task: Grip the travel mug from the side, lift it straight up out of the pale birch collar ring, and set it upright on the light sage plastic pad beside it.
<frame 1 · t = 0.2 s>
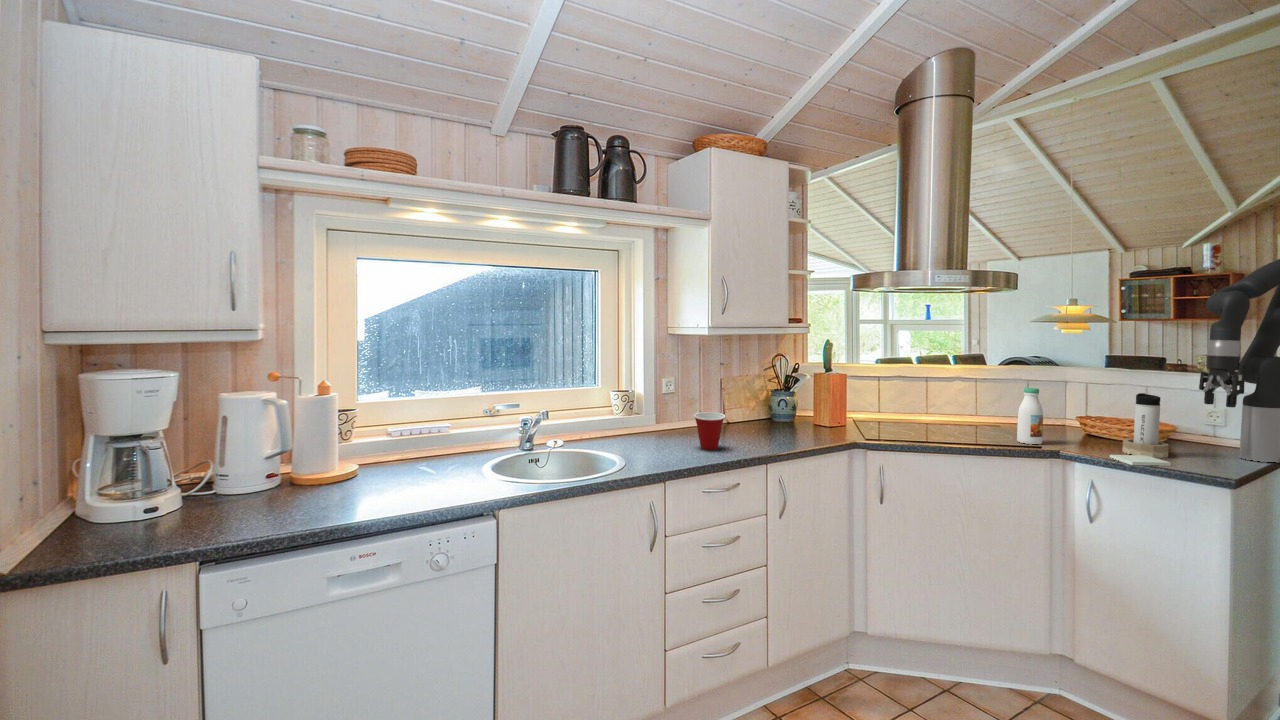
hand: (1219, 405, 191), 17 cm above the countertop, tool pointing down, fingers open, 8 cm apart
milk bottle: (1029, 443, 218), on the countertop
plastic cup: (709, 449, 208), on the countertop
sage pad: (1139, 461, 189), on the countertop
travel mug: (1144, 454, 200), resting in collar ring
collar ring: (1144, 454, 200), on the countertop
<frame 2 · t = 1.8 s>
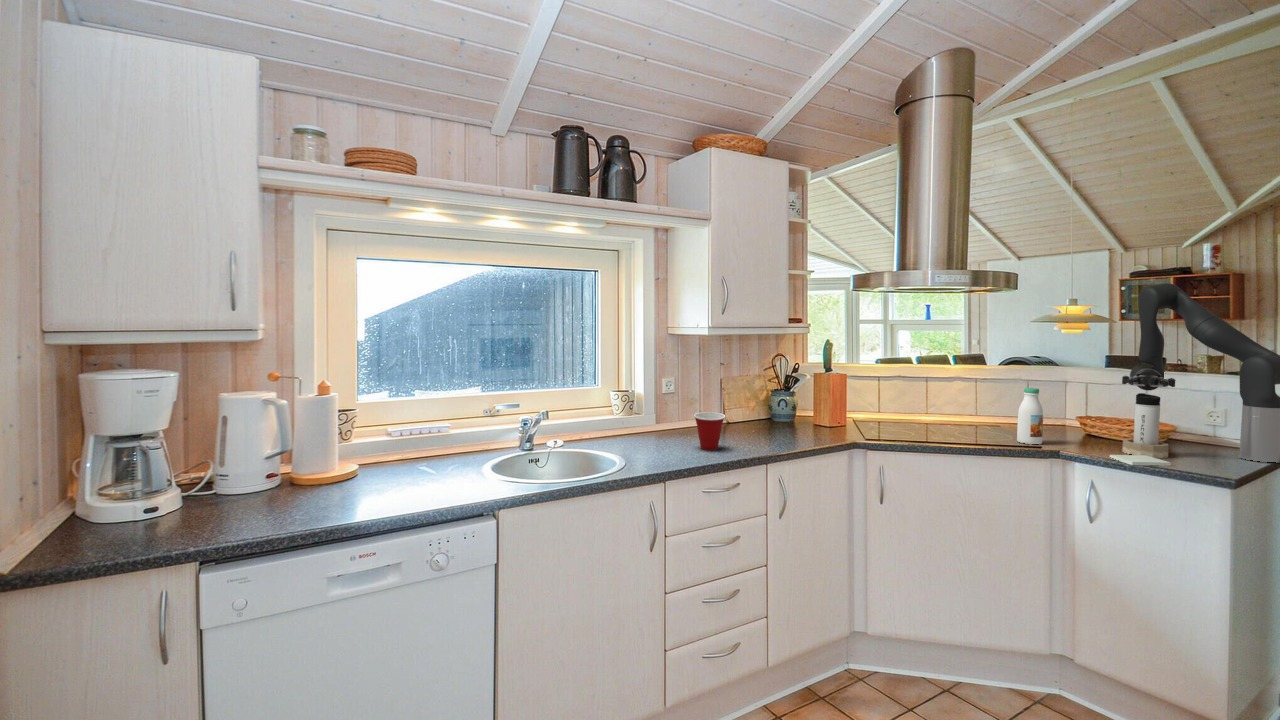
hand: (1148, 382, 207), 23 cm above the countertop, tool horizontal, fingers open, 8 cm apart
nothing on the countertop moved.
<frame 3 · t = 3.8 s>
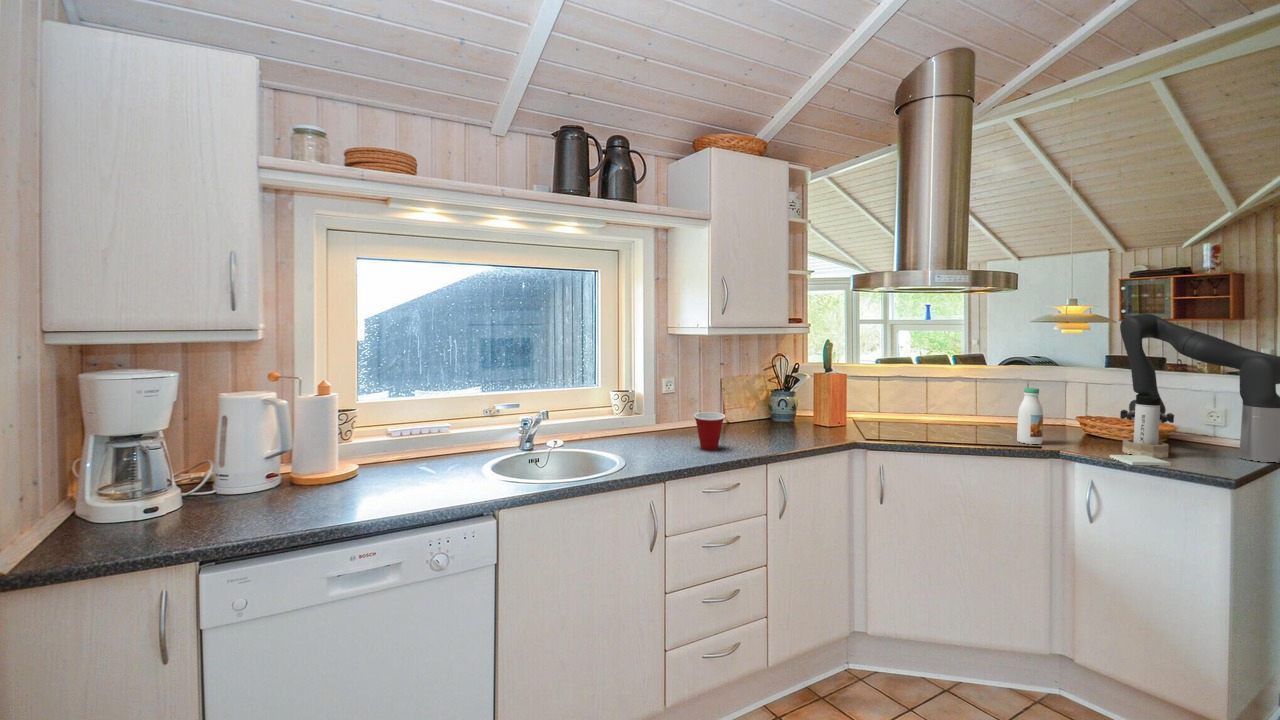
hand: (1146, 418, 205), 11 cm above the countertop, tool horizontal, fingers open, 8 cm apart
nothing on the countertop moved.
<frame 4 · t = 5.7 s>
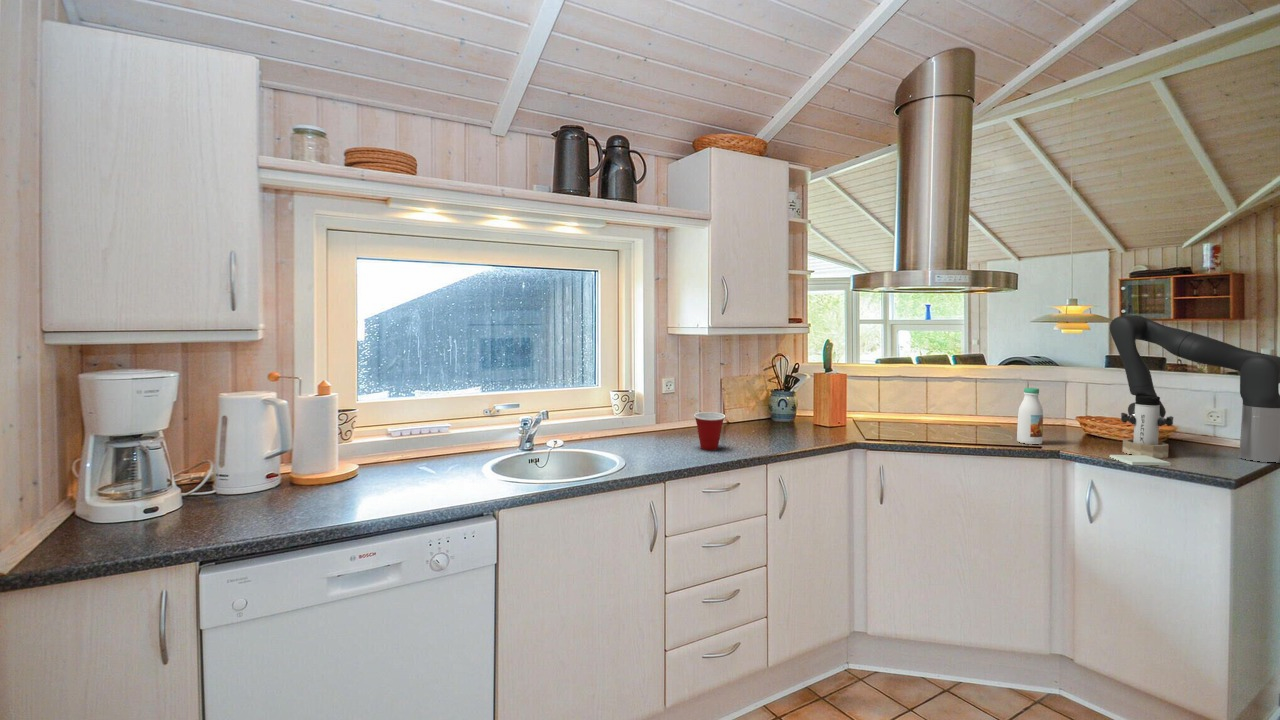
hand: (1146, 422, 198), 11 cm above the countertop, tool horizontal, fingers closed on travel mug, 6 cm apart
travel mug: (1144, 454, 200), resting in collar ring, touching gripper
everything else where it was.
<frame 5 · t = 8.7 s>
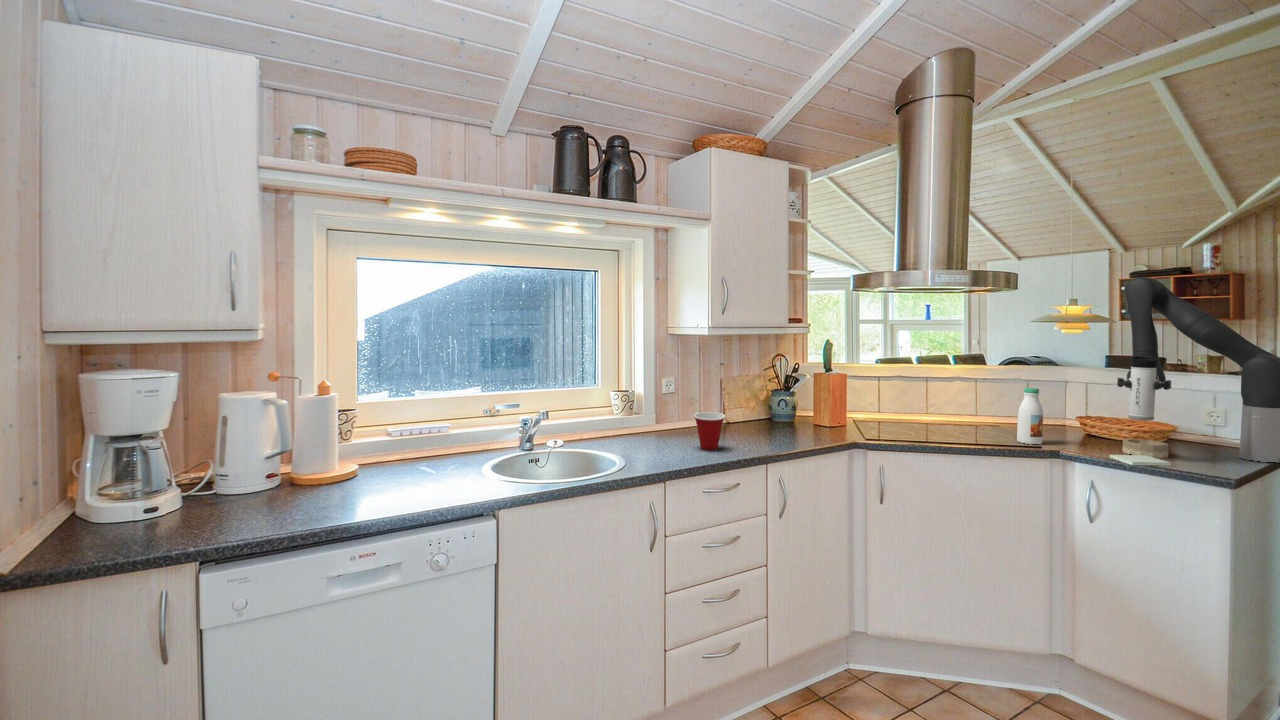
hand: (1142, 385, 190), 24 cm above the countertop, tool horizontal, fingers closed on travel mug, 6 cm apart
travel mug: (1140, 419, 193), point 13 cm above the countertop, touching gripper
everything else where it was.
when the fingers open (13 cm above the countertop, at t = 11.7 s): travel mug drops 1 cm, resting on sage pad.
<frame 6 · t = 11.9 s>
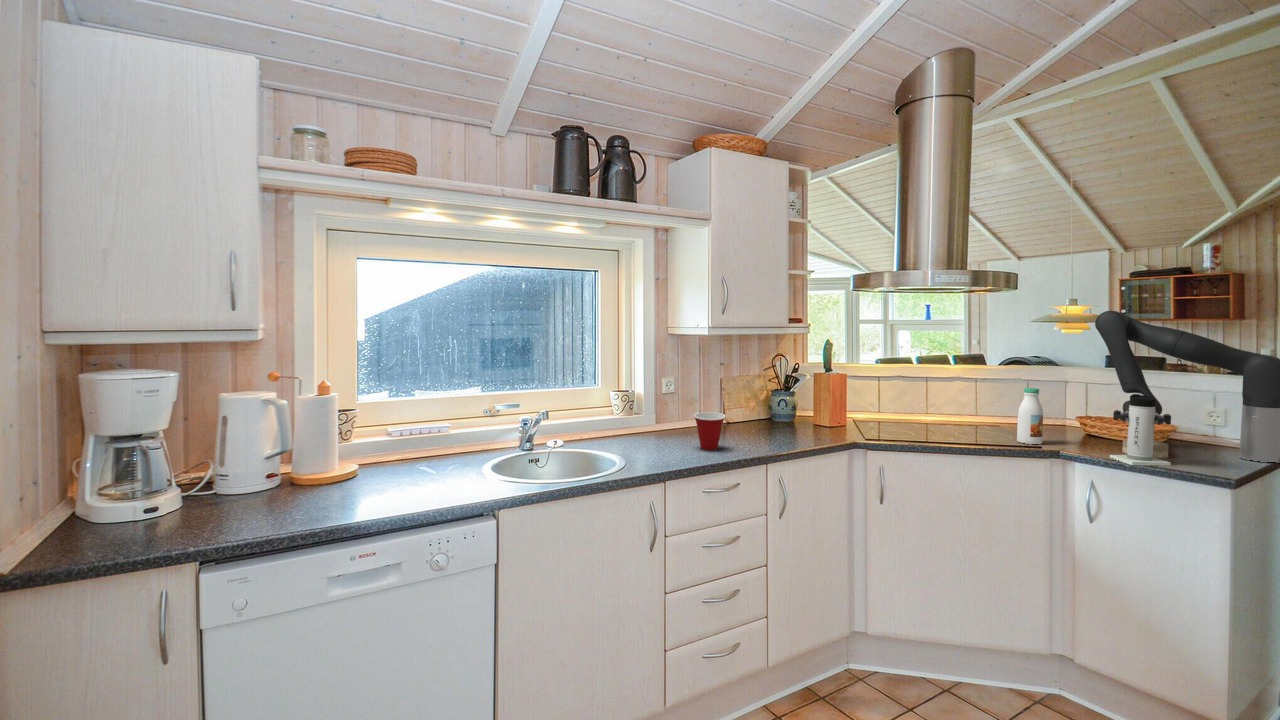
hand: (1141, 419, 187), 13 cm above the countertop, tool horizontal, fingers open, 8 cm apart
travel mug: (1138, 459, 189), point 1 cm above the countertop, touching sage pad
everything else where it was.
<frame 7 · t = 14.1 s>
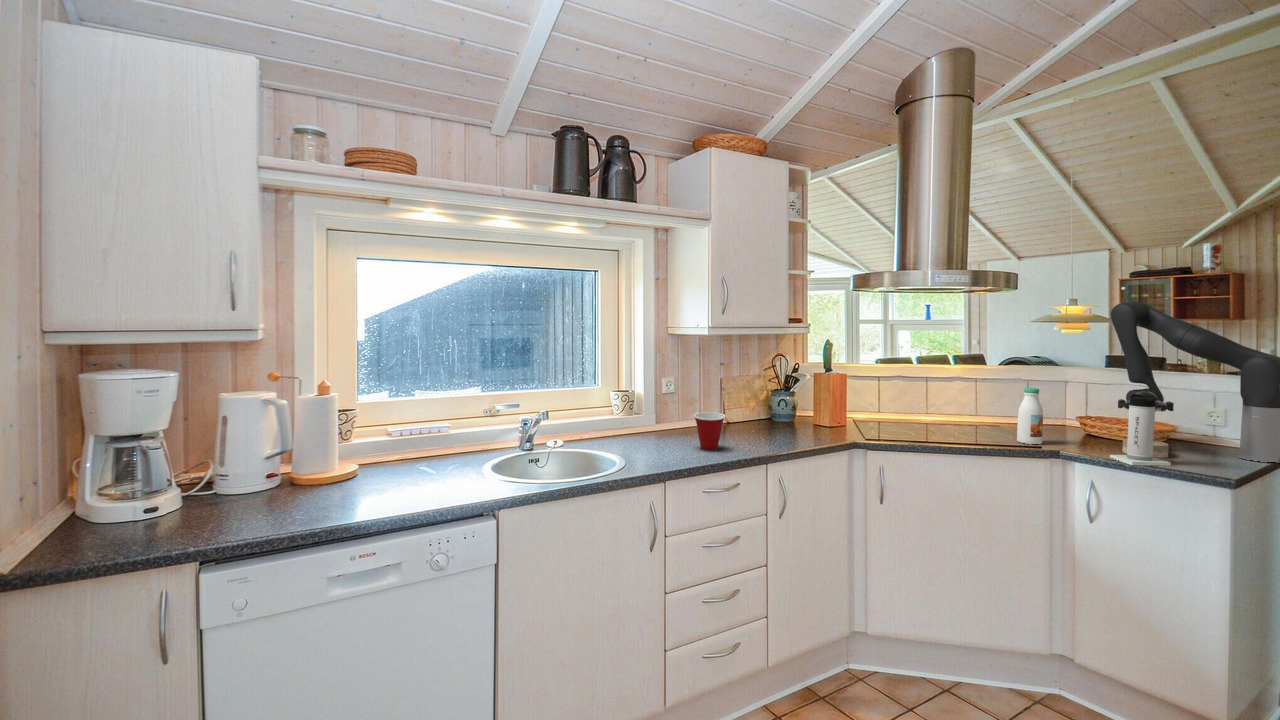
hand: (1145, 407, 197), 16 cm above the countertop, tool horizontal, fingers open, 8 cm apart
nothing on the countertop moved.
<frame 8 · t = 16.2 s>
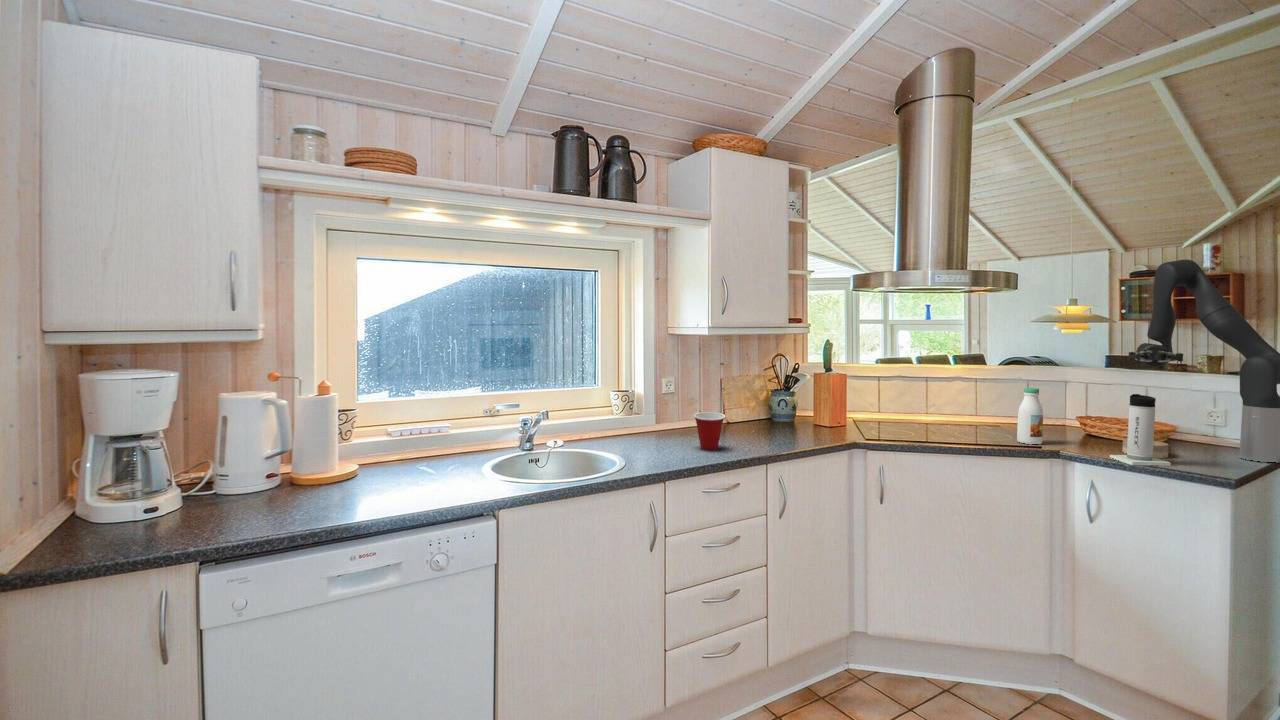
hand: (1155, 357, 202), 32 cm above the countertop, tool horizontal, fingers open, 8 cm apart
nothing on the countertop moved.
at the end: travel mug inside the target area on the sage pad (0.2 cm from its centre), point 0.8 cm above the sage pad's base; travel mug tilted 0°; travel mug touching sage pad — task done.
